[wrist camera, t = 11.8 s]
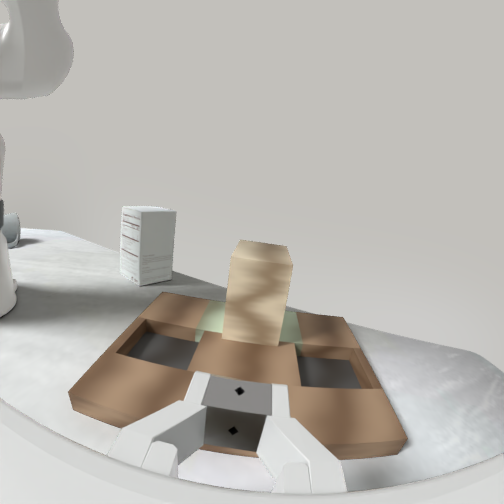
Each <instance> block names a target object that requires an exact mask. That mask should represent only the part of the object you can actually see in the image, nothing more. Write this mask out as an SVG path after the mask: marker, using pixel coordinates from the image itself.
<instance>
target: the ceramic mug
mask: <svg viewBox="0 0 504 504" xmlns="http://www.w3.org/2000/svg"><path fill="white" fill-rule="evenodd" d="M1 230H2V233H3V235H4V236H5V237H6V240H7V247H8V248H13V247H15V246H16V245H17V244H18V242H19V240H20V222H19V217H18V215H17V213H11V214H6V215H4V225H3V227H2V228H1Z"/></svg>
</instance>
